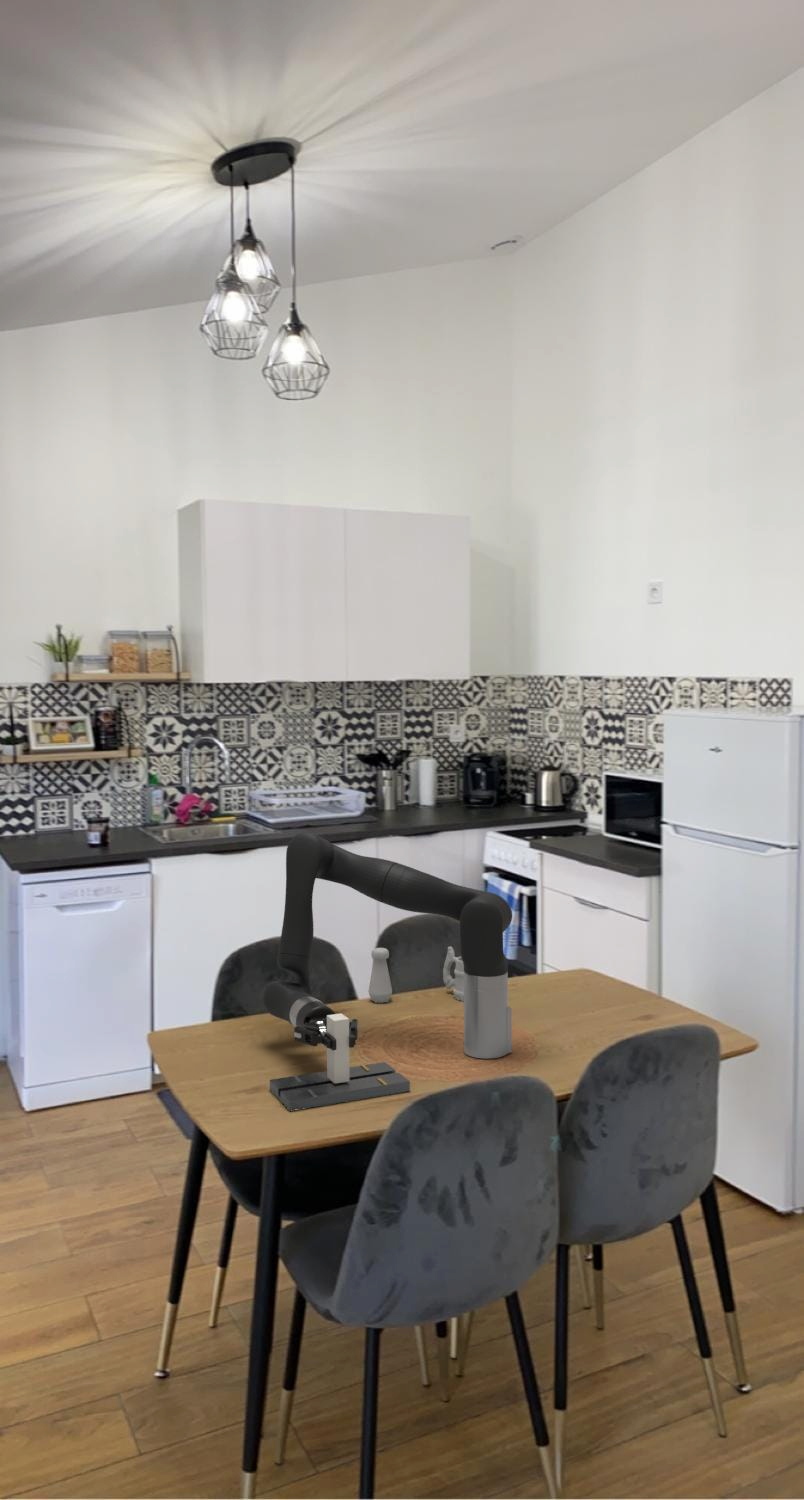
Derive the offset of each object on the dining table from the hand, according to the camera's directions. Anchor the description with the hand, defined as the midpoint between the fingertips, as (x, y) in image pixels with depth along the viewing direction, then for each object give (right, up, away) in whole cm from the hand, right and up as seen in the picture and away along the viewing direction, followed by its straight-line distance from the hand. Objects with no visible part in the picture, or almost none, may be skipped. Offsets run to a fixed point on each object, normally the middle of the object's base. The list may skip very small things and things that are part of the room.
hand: (343, 1043), depth 209 cm
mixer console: (-1, -10, +3) cm, 10 cm away
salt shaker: (+6, -7, +64) cm, 65 cm away
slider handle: (-1, -9, +3) cm, 9 cm away
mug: (+26, -6, +68) cm, 73 cm away
